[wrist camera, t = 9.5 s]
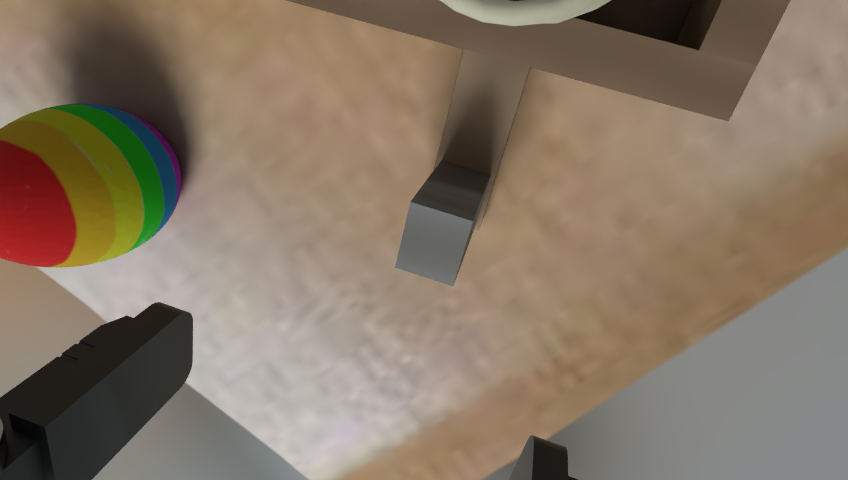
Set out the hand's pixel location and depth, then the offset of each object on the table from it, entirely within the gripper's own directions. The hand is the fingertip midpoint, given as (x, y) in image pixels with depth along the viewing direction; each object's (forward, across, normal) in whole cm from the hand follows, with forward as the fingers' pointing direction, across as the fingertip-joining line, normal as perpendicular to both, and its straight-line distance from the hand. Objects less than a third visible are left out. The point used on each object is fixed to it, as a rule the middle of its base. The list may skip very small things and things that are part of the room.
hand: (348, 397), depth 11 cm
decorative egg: (+17, +19, +5) cm, 26 cm away
